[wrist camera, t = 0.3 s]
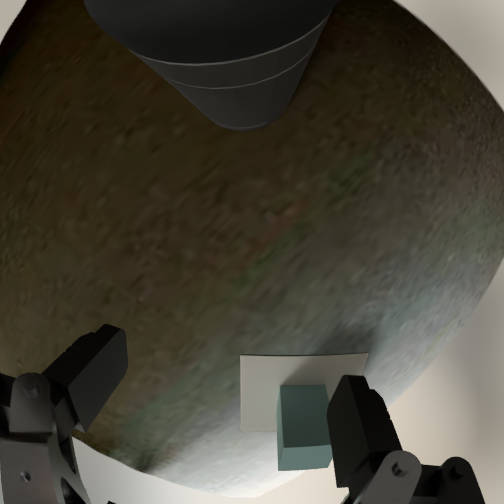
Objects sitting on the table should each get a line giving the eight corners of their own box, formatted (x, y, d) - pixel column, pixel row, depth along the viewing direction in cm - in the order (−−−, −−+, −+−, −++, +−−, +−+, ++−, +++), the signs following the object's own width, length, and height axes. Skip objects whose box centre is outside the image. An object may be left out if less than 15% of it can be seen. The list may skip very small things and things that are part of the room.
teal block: (279, 385, 32) (283, 447, 23) (325, 384, 32) (339, 443, 23) (276, 413, 34) (278, 470, 24) (317, 412, 34) (327, 467, 24)
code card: (240, 355, 31) (240, 355, 31) (368, 352, 31) (369, 353, 31) (241, 430, 36) (241, 431, 36) (342, 427, 35) (342, 428, 35)
